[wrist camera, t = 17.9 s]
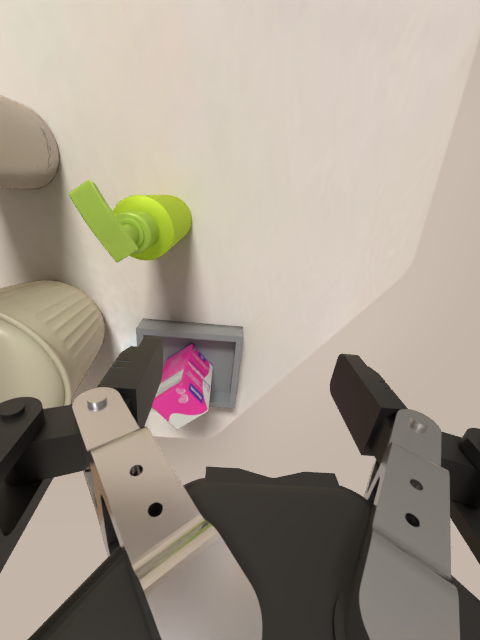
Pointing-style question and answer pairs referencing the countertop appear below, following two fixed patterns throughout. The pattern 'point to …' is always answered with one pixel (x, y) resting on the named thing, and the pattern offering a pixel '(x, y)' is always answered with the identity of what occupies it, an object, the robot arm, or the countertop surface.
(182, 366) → the supplement box
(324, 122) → the countertop surface
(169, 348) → the tray
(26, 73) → the countertop surface
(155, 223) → the soap dispenser
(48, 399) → the canister
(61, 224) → the countertop surface
